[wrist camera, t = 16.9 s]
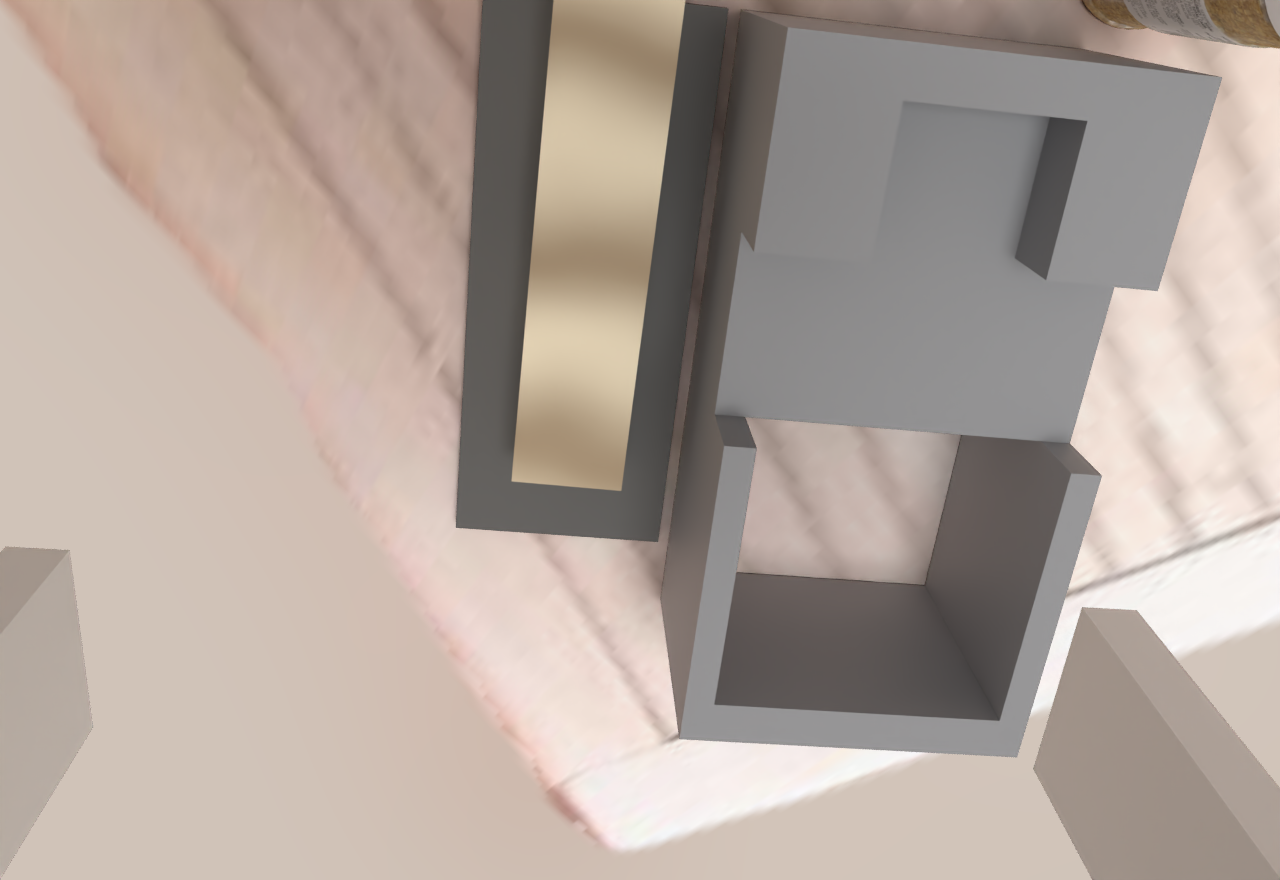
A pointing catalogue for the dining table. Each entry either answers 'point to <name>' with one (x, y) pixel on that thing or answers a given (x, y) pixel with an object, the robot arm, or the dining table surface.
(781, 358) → the pocket block
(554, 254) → the birch bar
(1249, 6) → the sprinkles bottle
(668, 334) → the rubber mat
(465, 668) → the dining table surface
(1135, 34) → the dining table surface
